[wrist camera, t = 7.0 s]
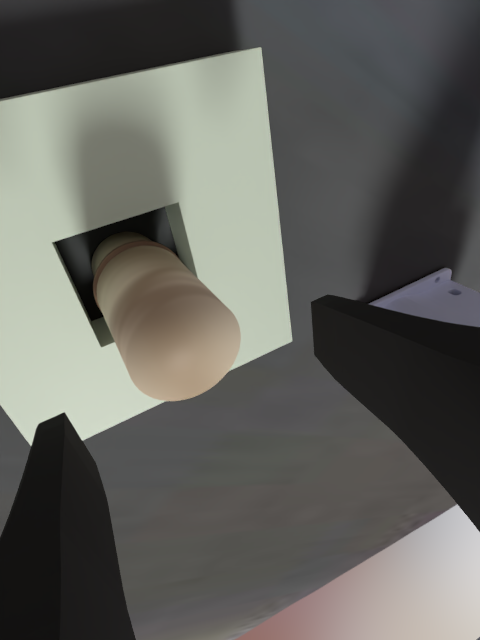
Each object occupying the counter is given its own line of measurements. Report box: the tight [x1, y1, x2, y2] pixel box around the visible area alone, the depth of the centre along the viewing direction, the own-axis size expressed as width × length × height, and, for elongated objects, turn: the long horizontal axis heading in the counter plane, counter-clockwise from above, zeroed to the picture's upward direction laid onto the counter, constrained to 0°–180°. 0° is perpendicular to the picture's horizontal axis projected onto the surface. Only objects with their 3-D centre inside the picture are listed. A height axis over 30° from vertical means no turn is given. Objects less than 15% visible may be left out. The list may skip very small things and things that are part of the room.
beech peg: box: [91, 232, 241, 401], centre depth 16 cm, size 4×4×8 cm
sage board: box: [0, 47, 292, 446], centre depth 17 cm, size 14×14×2 cm
